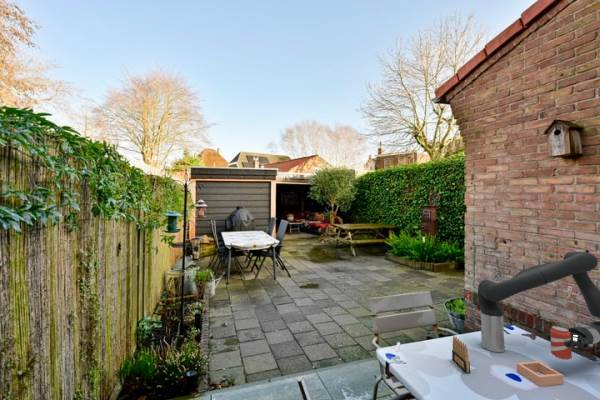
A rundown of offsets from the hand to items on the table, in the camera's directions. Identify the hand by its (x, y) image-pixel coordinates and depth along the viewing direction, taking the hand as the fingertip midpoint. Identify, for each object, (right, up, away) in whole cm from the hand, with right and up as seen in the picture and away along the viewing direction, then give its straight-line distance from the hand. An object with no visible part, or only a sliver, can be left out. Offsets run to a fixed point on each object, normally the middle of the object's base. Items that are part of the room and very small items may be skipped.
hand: (556, 341), depth 118 cm
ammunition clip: (-37, -15, +7) cm, 40 cm away
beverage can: (+2, -7, 0) cm, 8 cm away
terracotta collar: (-10, -14, -3) cm, 17 cm away
